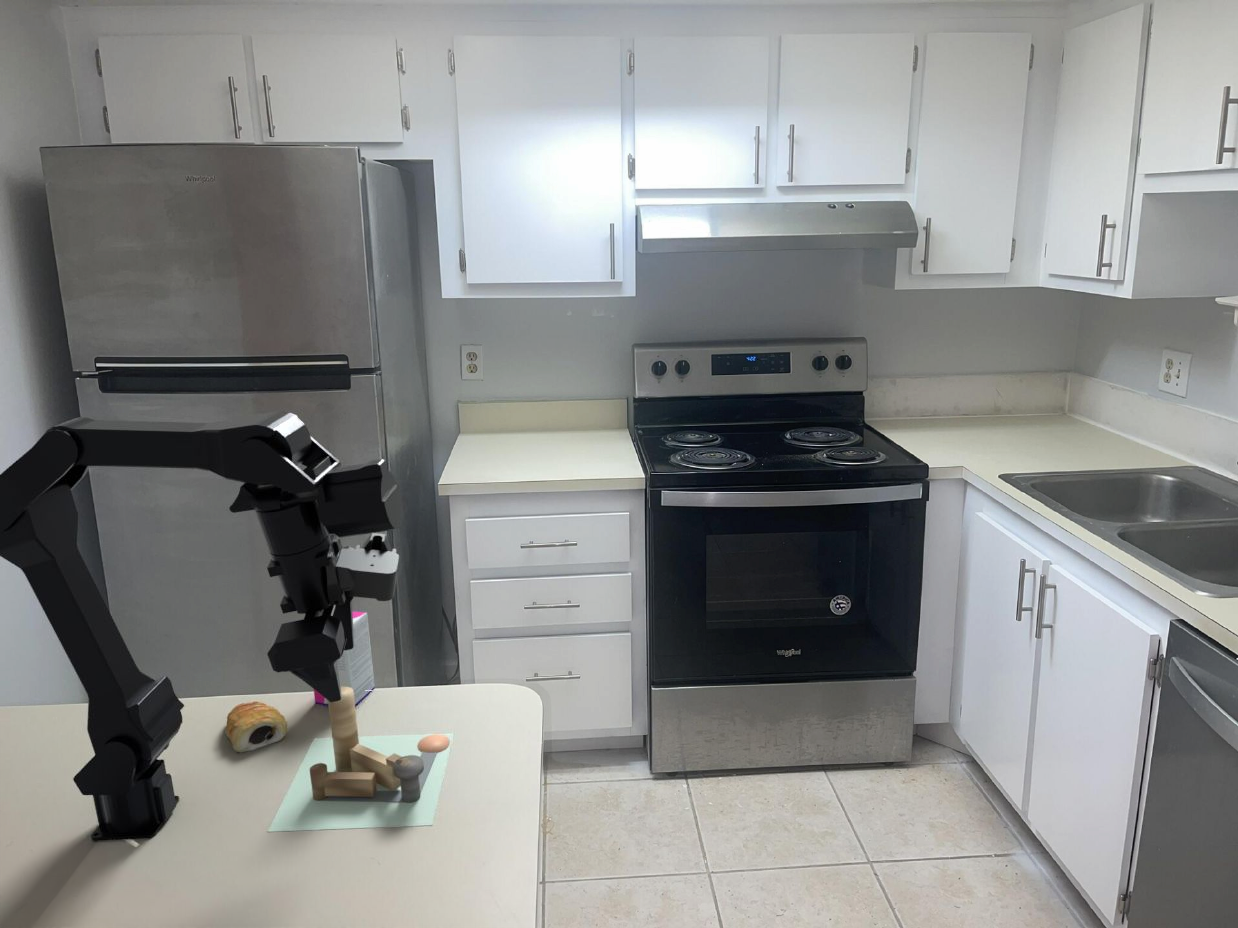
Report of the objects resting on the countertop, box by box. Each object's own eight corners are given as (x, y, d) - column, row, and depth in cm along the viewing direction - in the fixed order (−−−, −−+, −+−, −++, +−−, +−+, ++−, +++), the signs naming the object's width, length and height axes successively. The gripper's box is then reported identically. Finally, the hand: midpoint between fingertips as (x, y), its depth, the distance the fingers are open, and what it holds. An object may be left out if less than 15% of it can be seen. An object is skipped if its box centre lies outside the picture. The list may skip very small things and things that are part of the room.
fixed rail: (422, 791, 98) (420, 763, 97) (417, 802, 96) (415, 775, 96) (316, 789, 99) (313, 762, 98) (310, 801, 97) (306, 773, 96)
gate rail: (432, 791, 98) (425, 715, 95) (410, 807, 95) (403, 729, 93) (351, 755, 105) (343, 683, 102) (329, 769, 102) (320, 695, 99)
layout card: (267, 833, 92) (267, 830, 92) (314, 740, 109) (314, 737, 109) (432, 827, 93) (432, 823, 93) (454, 735, 109) (454, 732, 109)
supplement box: (376, 688, 120) (368, 611, 117) (352, 711, 115) (344, 631, 112) (338, 683, 122) (330, 606, 119) (313, 705, 116) (303, 626, 113)
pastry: (216, 725, 113) (212, 698, 112) (271, 708, 117) (268, 682, 116) (237, 760, 105) (233, 731, 104) (294, 740, 109) (291, 712, 108)
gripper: (370, 569, 78) (413, 712, 84) (390, 487, 95) (425, 611, 101) (243, 596, 77) (295, 738, 83) (286, 508, 95) (327, 631, 101)
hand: (342, 673), depth 92 cm, fingers open, 9 cm apart
